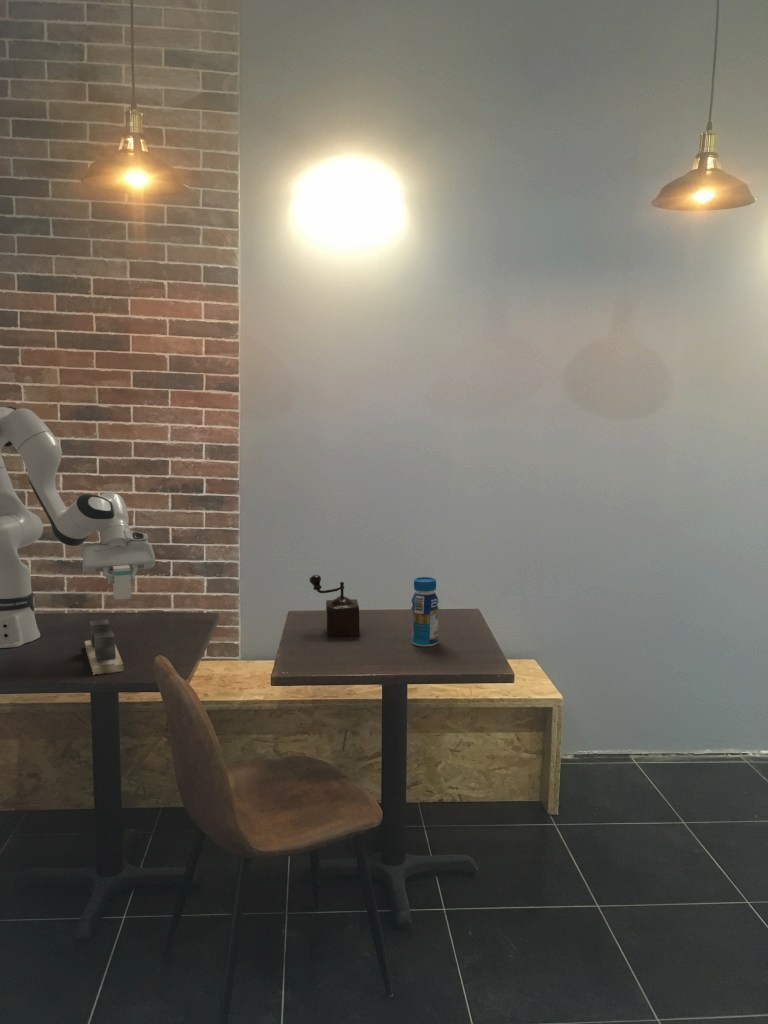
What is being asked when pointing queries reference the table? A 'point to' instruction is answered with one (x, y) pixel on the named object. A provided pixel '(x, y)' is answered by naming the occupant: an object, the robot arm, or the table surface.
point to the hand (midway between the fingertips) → (121, 581)
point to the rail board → (96, 663)
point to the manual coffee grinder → (339, 612)
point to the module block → (121, 582)
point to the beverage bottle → (424, 612)
